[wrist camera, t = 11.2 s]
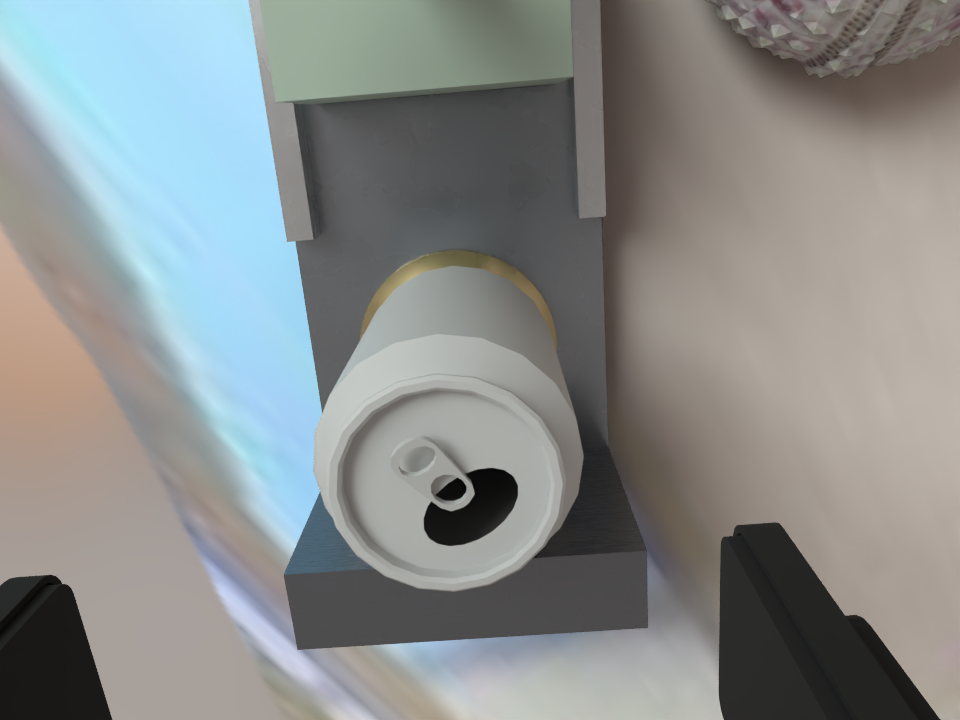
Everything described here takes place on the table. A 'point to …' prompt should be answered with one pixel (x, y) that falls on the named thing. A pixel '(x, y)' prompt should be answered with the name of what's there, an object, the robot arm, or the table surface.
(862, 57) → the sea urchin shell
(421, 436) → the can
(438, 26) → the grey-green handled block
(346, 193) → the base
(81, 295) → the table surface
